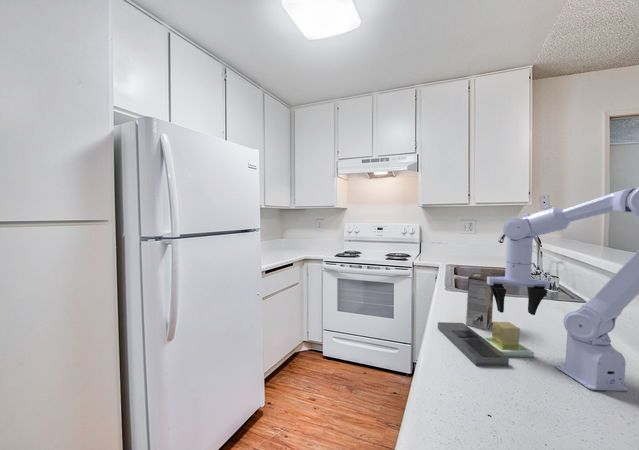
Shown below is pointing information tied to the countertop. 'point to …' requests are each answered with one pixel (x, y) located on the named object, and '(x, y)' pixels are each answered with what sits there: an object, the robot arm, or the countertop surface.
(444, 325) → the grey flat long piece
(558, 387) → the countertop surface
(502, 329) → the brass cube
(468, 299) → the coffee box
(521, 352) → the tray
